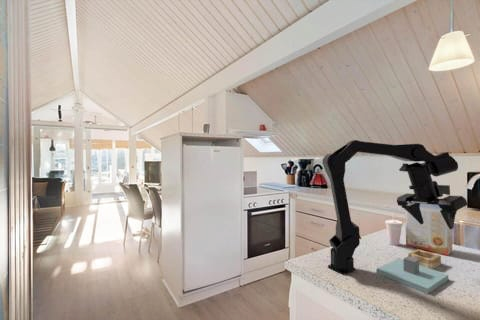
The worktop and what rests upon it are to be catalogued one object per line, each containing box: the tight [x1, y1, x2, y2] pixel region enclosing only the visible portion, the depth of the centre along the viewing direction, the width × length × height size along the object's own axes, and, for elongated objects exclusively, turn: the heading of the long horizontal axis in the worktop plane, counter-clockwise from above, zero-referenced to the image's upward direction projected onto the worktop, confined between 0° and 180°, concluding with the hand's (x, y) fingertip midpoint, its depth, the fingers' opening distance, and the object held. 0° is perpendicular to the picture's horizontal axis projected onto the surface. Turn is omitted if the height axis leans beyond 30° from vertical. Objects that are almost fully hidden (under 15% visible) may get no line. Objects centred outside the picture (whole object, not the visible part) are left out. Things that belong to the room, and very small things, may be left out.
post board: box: [376, 256, 449, 295], centre depth 75 cm, size 14×14×6 cm
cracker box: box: [405, 197, 453, 256], centre depth 96 cm, size 14×6×21 cm, turn 34°
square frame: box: [407, 248, 442, 270], centre depth 84 cm, size 7×7×3 cm
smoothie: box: [384, 211, 404, 247], centre depth 102 cm, size 6×6×14 cm
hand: (436, 226), depth 77 cm, fingers open, 9 cm apart
